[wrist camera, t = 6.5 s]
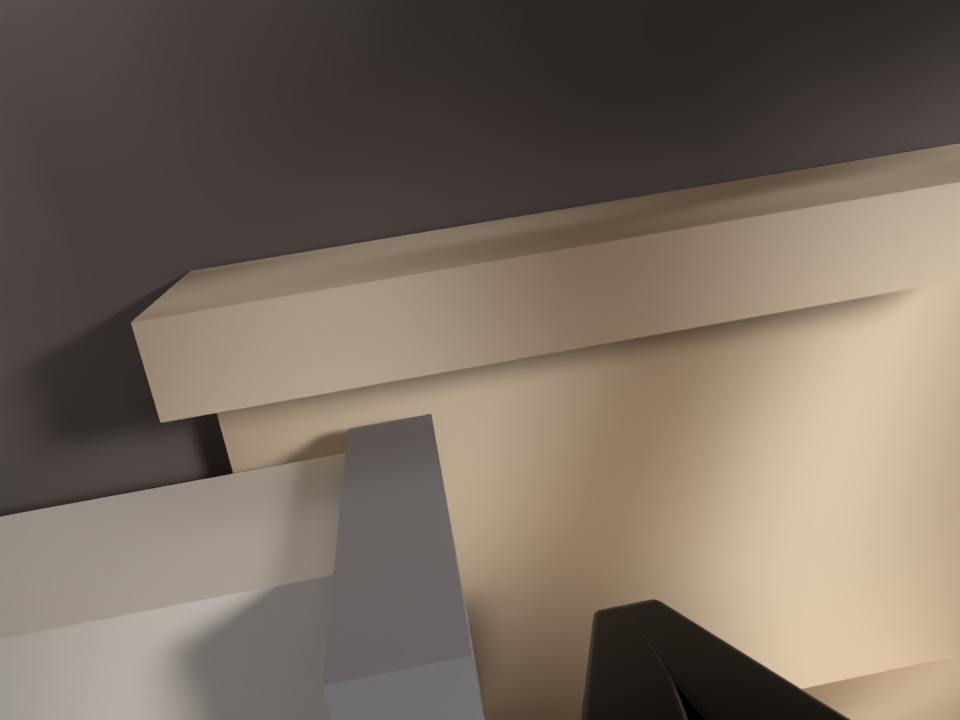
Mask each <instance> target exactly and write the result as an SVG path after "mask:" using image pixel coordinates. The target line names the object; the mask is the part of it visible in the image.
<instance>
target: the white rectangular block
mask: <svg viewBox="0 0 960 720" xmlns="http://www.w3.org/2000/svg"><path fill="white" fill-rule="evenodd" d="M0 720H486V716H485V710H484V705H483V699H482V693H481V688H480V682H479V677H478V671H477V666H476V660H475V654H474V649H473V643H472V638H471V632H470V626H469V621H468V615H467V610H466V604H465V599H464V593H463V587H462V582H461V576H460V571H459V565H458V559H457V554H456V548H455V543H454V537H453V532H452V526H451V520H450V515H449V509H448V504H447V498H446V492H445V487H444V481H443V476H442V470H441V465H440V459H439V453H438V448H437V442H436V437H435V431H434V425H433V420H432V414H427V415H421V416H416V417H410V418H405V419H399V420H394V421H388V422H383V423H377V424H372V425H366V426H361V427H355V428H350V429H348V433H347V443H346V453H343V454H338V455H332V456H327V457H322V458H316V459H311V460H305V461H300V462H294V463H289V464H284V465H278V466H273V467H267V468H262V469H256V470H251V471H245V472H240V473H235V474H229V475H224V476H218V477H213V478H207V479H202V480H196V481H191V482H186V483H180V484H175V485H169V486H164V487H158V488H153V489H148V490H142V491H137V492H131V493H126V494H120V495H115V496H109V497H104V498H99V499H93V500H88V501H82V502H77V503H71V504H66V505H61V506H55V507H50V508H44V509H39V510H33V511H28V512H22V513H17V514H12V515H6V516H1V517H0Z"/></svg>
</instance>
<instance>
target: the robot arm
mask: <svg viewBox="0 0 960 720" xmlns="http://www.w3.org/2000/svg"><path fill="white" fill-rule="evenodd" d="M581 720H851V719H849V718H847V717H846V716H844V715H843V714H841V713H839V712H838V711H836V710H835V709H833V708H831V707H830V706H828V705H827V704H825V703H823V702H822V701H820V700H819V699H817V698H815V697H814V696H812V695H811V694H809V693H807V692H806V691H804V690H802V689H801V688H799V687H798V686H796V685H794V684H793V683H791V682H790V681H788V680H786V679H785V678H783V677H782V676H780V675H778V674H777V673H775V672H774V671H772V670H770V669H769V668H767V667H766V666H764V665H762V664H761V663H759V662H758V661H756V660H754V659H753V658H751V657H750V656H748V655H746V654H745V653H743V652H742V651H740V650H738V649H737V648H735V647H733V646H732V645H730V644H729V643H727V642H725V641H724V640H722V639H721V638H719V637H717V636H716V635H714V634H713V633H711V632H709V631H708V630H706V629H705V628H703V627H701V626H700V625H698V624H697V623H695V622H693V621H692V620H690V619H689V618H687V617H685V616H684V615H682V614H681V613H679V612H677V611H676V610H674V609H673V608H671V607H669V606H668V605H666V604H664V603H663V602H661V601H659V600H656V599H651V600H646V601H641V602H636V603H631V604H626V605H621V606H616V607H611V608H606V609H600V610H597V611H596V612H595V613H594V615H593V622H592V630H591V639H590V647H589V656H588V664H587V673H586V681H585V690H584V698H583V707H582V715H581Z"/></svg>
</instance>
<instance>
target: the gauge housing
mask: <svg viewBox="0 0 960 720" xmlns="http://www.w3.org/2000/svg"><path fill="white" fill-rule="evenodd" d="M131 325H132V328H133V332H134V335H135V338H136V342H137V345H138V348H139V352H140V355H141V359H142V362H143V365H144V369H145V372H146V375H147V379H148V382H149V385H150V389H151V392H152V395H153V399H154V402H155V405H156V409H157V412H158V416H159V419H160V422H161V423H163V422H168V421H174V420H179V419H185V418H191V417H196V416H202V415H207V414H213V413H217V416H218V419H219V423H220V427H221V430H222V434H223V438H224V441H225V445H226V449H227V452H228V456H229V460H230V463H231V467H232V471H233V474H235V473H240V472H245V471H251V470H256V469H262V468H267V467H273V466H278V465H284V464H289V463H294V462H300V461H305V460H311V459H316V458H322V457H327V456H332V455H338V454H343V453H346V443H347V433H348V429H350V428H355V427H361V426H366V425H372V424H377V423H383V422H388V421H394V420H399V419H405V418H410V417H416V416H421V415H427V414H432V420H433V425H434V431H435V437H436V442H437V448H438V453H439V459H440V465H441V470H442V476H443V481H444V487H445V492H446V498H447V504H448V509H449V515H450V520H451V526H452V532H453V537H454V543H455V548H456V554H457V559H458V565H459V571H460V576H461V582H462V587H463V593H464V599H465V604H466V610H467V615H468V621H469V626H470V632H471V638H472V643H473V649H474V654H475V660H476V666H477V671H478V677H479V682H480V688H481V693H482V699H483V705H484V710H485V716H486V720H581V715H582V707H583V698H584V690H585V681H586V673H587V664H588V656H589V647H590V639H591V630H592V622H593V615H594V613H595V612H596V611H597V610H600V609H606V608H611V607H616V606H621V605H626V604H631V603H636V602H641V601H646V600H651V599H656V600H659V601H661V602H663V603H664V604H666V605H668V606H669V607H671V608H673V609H674V610H676V611H677V612H679V613H681V614H682V615H684V616H685V617H687V618H689V619H690V620H692V621H693V622H695V623H697V624H698V625H700V626H701V627H703V628H705V629H706V630H708V631H709V632H711V633H713V634H714V635H716V636H717V637H719V638H721V639H722V640H724V641H725V642H727V643H729V644H730V645H732V646H733V647H735V648H737V649H738V650H740V651H742V652H743V653H745V654H746V655H748V656H750V657H751V658H753V659H754V660H756V661H758V662H759V663H761V664H762V665H764V666H766V667H767V668H769V669H770V670H772V671H774V672H775V673H777V674H778V675H780V676H782V677H783V678H785V679H786V680H788V681H790V682H791V683H793V684H794V685H796V686H798V687H799V688H801V689H802V690H804V691H806V692H807V693H809V694H811V695H812V696H814V697H815V698H817V699H819V700H820V701H822V702H823V703H825V704H827V705H828V706H830V707H831V708H833V709H835V710H836V711H838V712H839V713H841V714H843V715H844V716H846V717H847V718H849V719H851V720H960V143H959V144H953V145H946V146H940V147H934V148H928V149H922V150H916V151H910V152H904V153H898V154H892V155H886V156H880V157H874V158H868V159H862V160H856V161H850V162H844V163H838V164H832V165H826V166H820V167H814V168H808V169H802V170H796V171H790V172H784V173H778V174H772V175H766V176H760V177H754V178H747V179H741V180H735V181H729V182H723V183H717V184H711V185H705V186H699V187H693V188H687V189H681V190H675V191H669V192H663V193H657V194H651V195H645V196H639V197H633V198H627V199H621V200H615V201H609V202H603V203H597V204H591V205H585V206H579V207H573V208H567V209H561V210H555V211H548V212H542V213H536V214H530V215H524V216H518V217H512V218H506V219H500V220H494V221H488V222H482V223H476V224H470V225H464V226H458V227H452V228H446V229H440V230H434V231H428V232H422V233H416V234H410V235H404V236H398V237H392V238H386V239H380V240H374V241H368V242H362V243H356V244H349V245H343V246H337V247H331V248H325V249H319V250H313V251H307V252H301V253H295V254H289V255H283V256H277V257H271V258H265V259H259V260H253V261H247V262H241V263H235V264H229V265H223V266H217V267H211V268H205V269H199V270H193V271H190V272H188V273H187V274H186V275H185V276H184V277H183V278H182V279H180V280H179V281H178V282H177V283H176V284H175V285H173V286H172V287H171V288H170V289H169V290H168V291H167V292H165V293H164V294H163V295H162V296H161V297H160V298H158V299H157V300H156V301H155V302H154V303H153V304H152V305H150V306H149V307H148V308H147V309H146V310H145V311H143V312H142V313H141V314H140V315H139V316H138V317H137V318H135V319H134V320H133V321H132V322H131Z"/></svg>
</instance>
